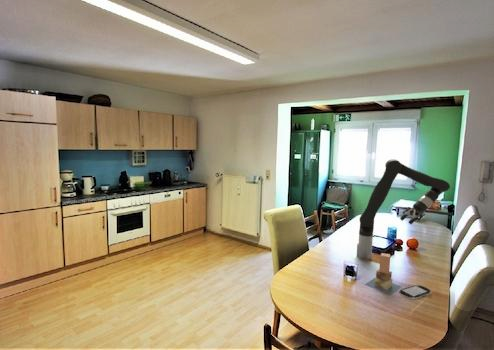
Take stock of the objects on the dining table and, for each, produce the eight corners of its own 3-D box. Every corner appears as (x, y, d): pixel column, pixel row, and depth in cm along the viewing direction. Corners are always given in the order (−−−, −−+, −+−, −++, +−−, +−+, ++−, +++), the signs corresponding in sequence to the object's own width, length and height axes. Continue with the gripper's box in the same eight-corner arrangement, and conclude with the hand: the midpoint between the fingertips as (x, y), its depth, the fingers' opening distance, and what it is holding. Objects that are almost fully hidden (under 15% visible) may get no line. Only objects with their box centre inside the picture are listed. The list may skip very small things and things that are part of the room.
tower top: (376, 277, 159) (376, 271, 159) (380, 274, 163) (381, 268, 163) (386, 281, 155) (387, 275, 154) (391, 278, 159) (391, 271, 158)
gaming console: (411, 303, 144) (411, 298, 144) (395, 294, 152) (396, 290, 152) (433, 294, 152) (434, 290, 152) (418, 287, 161) (418, 283, 160)
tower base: (374, 285, 160) (374, 277, 159) (379, 281, 164) (380, 274, 164) (386, 289, 155) (387, 282, 154) (391, 286, 159) (392, 278, 159)
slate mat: (364, 285, 160) (364, 284, 160) (376, 278, 170) (376, 276, 170) (390, 296, 149) (390, 295, 149) (402, 287, 159) (402, 286, 158)
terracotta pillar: (379, 271, 158) (380, 255, 157) (380, 269, 162) (381, 252, 161) (388, 274, 155) (389, 257, 154) (389, 271, 159) (390, 254, 158)
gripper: (412, 198, 186) (394, 214, 186) (427, 202, 172) (408, 220, 172) (418, 205, 187) (401, 222, 187) (434, 210, 173) (416, 228, 173)
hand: (405, 221), depth 180 cm, fingers open, 8 cm apart
